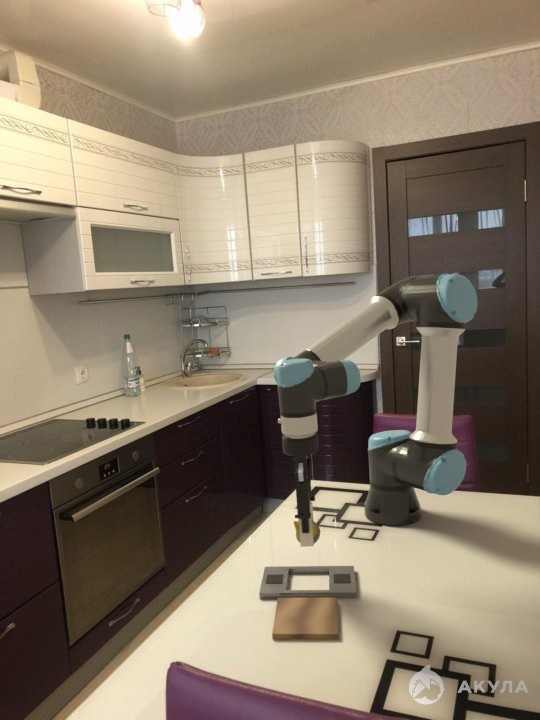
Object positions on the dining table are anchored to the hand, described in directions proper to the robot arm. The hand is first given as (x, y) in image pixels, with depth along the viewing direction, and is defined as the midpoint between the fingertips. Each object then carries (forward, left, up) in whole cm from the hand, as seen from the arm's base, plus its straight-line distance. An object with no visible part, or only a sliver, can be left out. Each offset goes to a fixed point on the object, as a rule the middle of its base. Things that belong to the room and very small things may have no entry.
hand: (307, 538), depth 120 cm
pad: (0, +13, -10) cm, 17 cm away
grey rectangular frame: (0, 0, -10) cm, 10 cm away
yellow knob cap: (0, 0, -2) cm, 2 cm away
